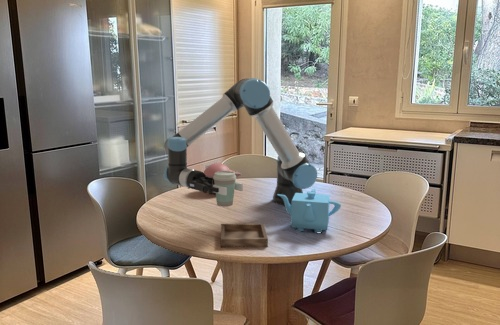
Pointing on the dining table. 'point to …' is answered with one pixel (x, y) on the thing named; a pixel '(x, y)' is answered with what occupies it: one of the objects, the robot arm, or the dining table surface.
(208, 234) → the dining table surface
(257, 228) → the wooden tray
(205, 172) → the pink balloon
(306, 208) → the teakettle
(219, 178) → the coffee cup
